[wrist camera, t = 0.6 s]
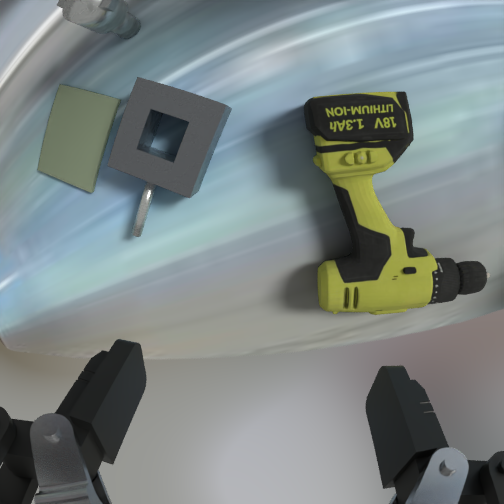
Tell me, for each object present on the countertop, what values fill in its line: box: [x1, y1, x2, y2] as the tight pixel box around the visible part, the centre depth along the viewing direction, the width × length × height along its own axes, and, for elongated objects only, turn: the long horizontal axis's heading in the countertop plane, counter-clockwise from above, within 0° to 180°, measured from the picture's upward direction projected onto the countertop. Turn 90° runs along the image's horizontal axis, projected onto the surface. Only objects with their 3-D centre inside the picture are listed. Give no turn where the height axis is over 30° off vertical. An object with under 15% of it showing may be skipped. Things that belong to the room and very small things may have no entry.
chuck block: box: [107, 77, 232, 237], centre depth 32 cm, size 17×10×4 cm, turn 157°
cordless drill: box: [304, 92, 490, 315], centre depth 30 cm, size 7×25×25 cm
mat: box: [38, 84, 121, 193], centre depth 32 cm, size 12×10×1 cm
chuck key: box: [57, 0, 141, 39], centre depth 22 cm, size 5×7×11 cm
